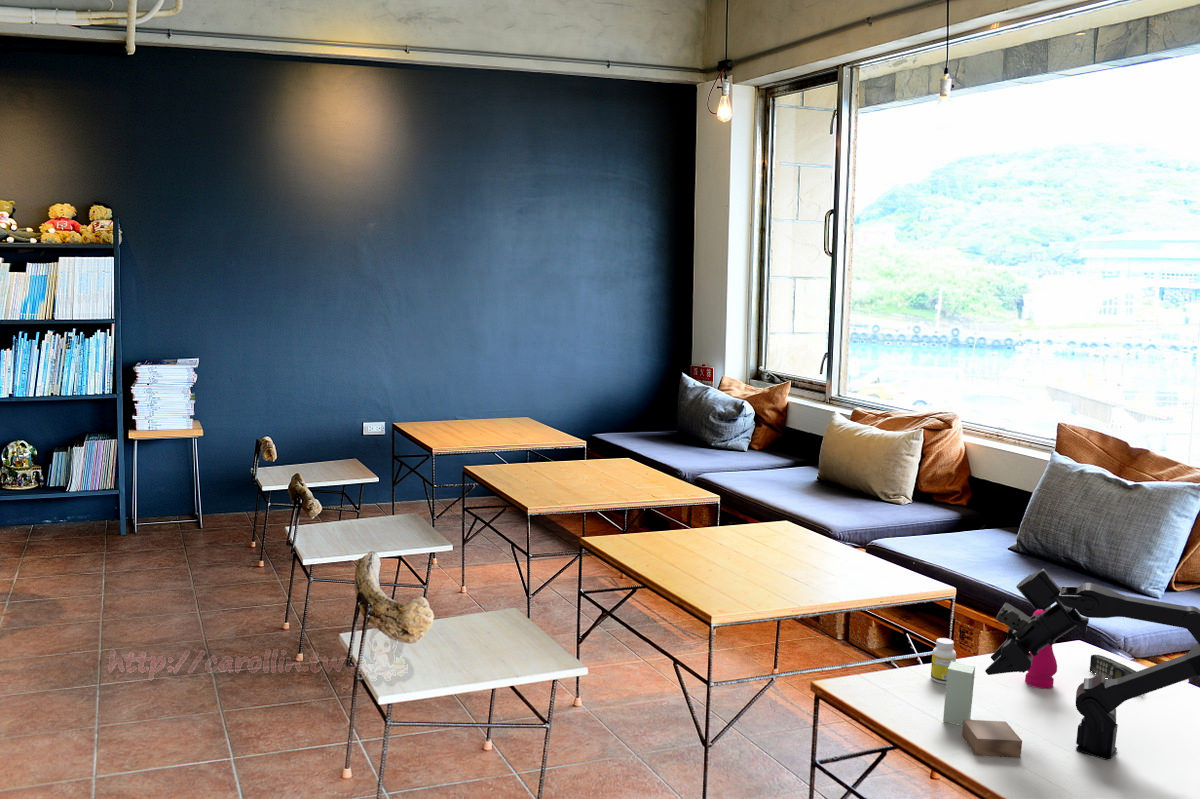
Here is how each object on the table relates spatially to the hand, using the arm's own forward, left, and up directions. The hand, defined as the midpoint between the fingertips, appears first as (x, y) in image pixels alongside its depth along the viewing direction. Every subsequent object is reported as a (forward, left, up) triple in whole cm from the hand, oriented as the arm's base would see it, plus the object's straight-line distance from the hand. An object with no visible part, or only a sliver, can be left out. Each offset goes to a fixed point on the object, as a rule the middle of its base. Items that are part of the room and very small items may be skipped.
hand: (989, 665), depth 223 cm
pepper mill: (-2, -34, -14) cm, 36 cm away
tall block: (+5, +1, -13) cm, 15 cm away
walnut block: (-5, +9, -14) cm, 17 cm away
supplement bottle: (+16, -19, -14) cm, 28 cm away
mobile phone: (-15, -49, -14) cm, 53 cm away
